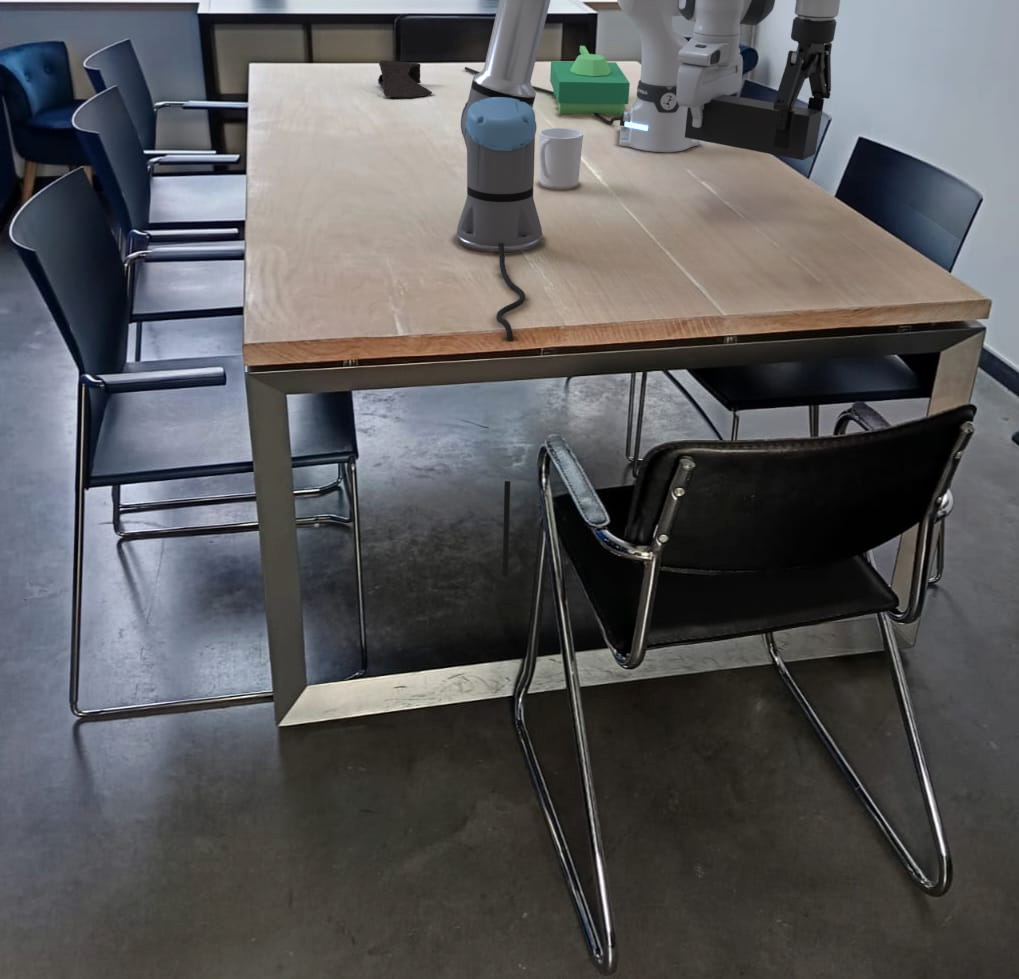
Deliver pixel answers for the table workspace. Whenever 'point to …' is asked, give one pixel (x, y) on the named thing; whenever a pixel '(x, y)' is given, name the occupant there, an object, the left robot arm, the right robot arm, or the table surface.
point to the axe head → (401, 79)
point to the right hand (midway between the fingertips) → (706, 123)
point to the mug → (560, 157)
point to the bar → (755, 126)
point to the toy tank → (589, 85)
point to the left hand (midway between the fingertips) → (796, 140)
